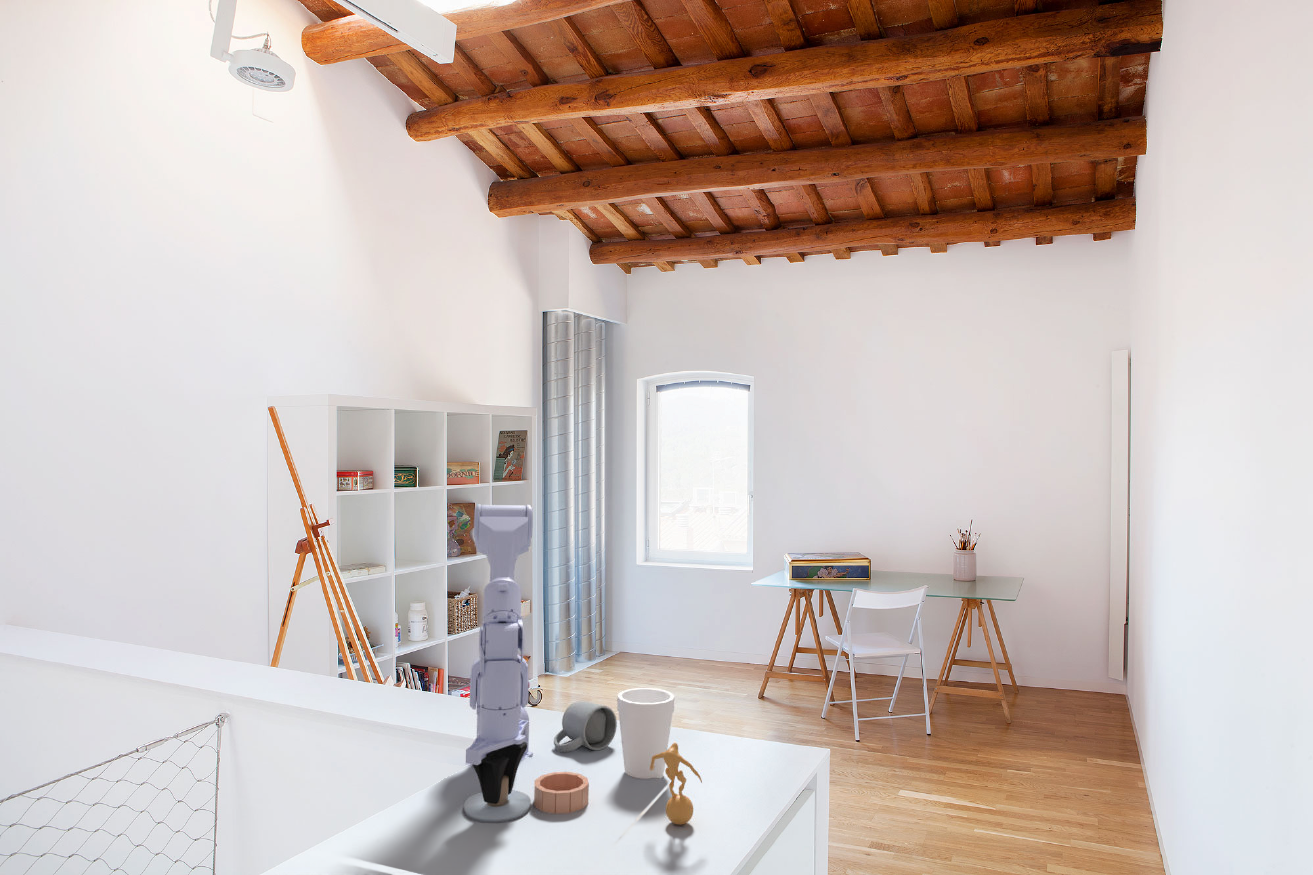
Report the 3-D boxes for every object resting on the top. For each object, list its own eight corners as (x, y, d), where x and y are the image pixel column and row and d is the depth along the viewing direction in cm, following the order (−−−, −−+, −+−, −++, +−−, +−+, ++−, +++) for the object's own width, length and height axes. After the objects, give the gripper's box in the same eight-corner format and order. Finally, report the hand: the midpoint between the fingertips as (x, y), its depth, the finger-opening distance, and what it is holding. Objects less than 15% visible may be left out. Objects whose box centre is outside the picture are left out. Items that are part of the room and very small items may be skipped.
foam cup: (639, 760, 142) (640, 684, 142) (683, 772, 136) (684, 694, 137) (604, 776, 134) (606, 697, 134) (650, 790, 128) (651, 707, 129)
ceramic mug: (590, 733, 155) (590, 693, 155) (617, 745, 149) (617, 702, 149) (543, 747, 148) (544, 704, 148) (570, 759, 142) (571, 715, 142)
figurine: (711, 825, 117) (712, 740, 117) (692, 841, 112) (693, 753, 112) (660, 811, 121) (662, 730, 121) (640, 827, 116) (641, 741, 116)
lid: (486, 790, 126) (487, 762, 126) (542, 800, 123) (542, 771, 123) (450, 815, 117) (451, 785, 117) (509, 826, 114) (510, 795, 114)
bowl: (549, 791, 127) (550, 768, 128) (596, 799, 125) (596, 776, 125) (524, 811, 120) (524, 787, 120) (573, 820, 117) (573, 796, 117)
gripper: (497, 722, 112) (495, 822, 112) (547, 694, 126) (545, 783, 125) (454, 715, 114) (451, 813, 114) (507, 689, 128) (505, 776, 128)
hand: (497, 797), depth 120 cm, fingers closed on lid, 3 cm apart
